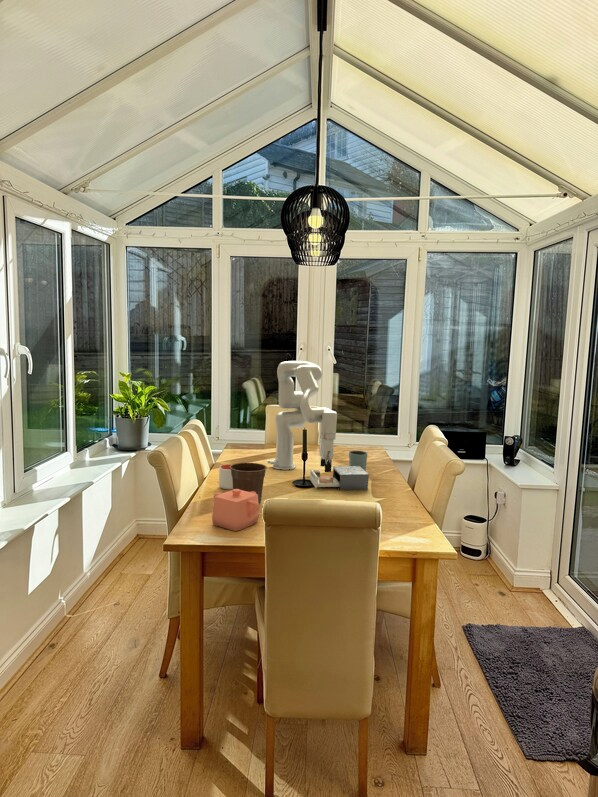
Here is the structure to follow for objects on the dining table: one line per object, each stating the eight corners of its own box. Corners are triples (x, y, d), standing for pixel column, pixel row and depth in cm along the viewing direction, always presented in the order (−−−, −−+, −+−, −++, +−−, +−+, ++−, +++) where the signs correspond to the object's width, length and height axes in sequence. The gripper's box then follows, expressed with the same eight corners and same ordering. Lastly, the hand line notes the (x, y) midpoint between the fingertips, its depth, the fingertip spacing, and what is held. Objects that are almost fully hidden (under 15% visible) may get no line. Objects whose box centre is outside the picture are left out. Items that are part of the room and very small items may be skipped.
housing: (340, 490, 265) (340, 474, 264) (332, 481, 280) (333, 466, 279) (367, 490, 267) (368, 474, 266) (358, 481, 283) (359, 466, 282)
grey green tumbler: (365, 477, 291) (366, 455, 289) (346, 475, 293) (347, 453, 291) (367, 472, 301) (368, 451, 299) (348, 470, 303) (349, 449, 301)
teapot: (246, 536, 203) (247, 500, 201) (201, 523, 214) (202, 489, 212) (276, 521, 219) (277, 487, 218) (233, 510, 231) (234, 478, 229)
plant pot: (241, 494, 253) (242, 460, 251) (272, 500, 246) (273, 465, 244) (221, 503, 238) (222, 467, 236) (253, 510, 231) (254, 473, 229)
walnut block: (312, 479, 281) (312, 472, 281) (310, 477, 285) (311, 470, 285) (319, 479, 282) (320, 472, 282) (318, 477, 286) (318, 470, 286)
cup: (223, 491, 257) (223, 470, 255) (216, 485, 265) (216, 465, 264) (242, 489, 261) (243, 468, 260) (235, 483, 270) (235, 463, 269)
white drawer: (315, 487, 263) (315, 476, 262) (309, 479, 277) (310, 468, 277) (342, 487, 265) (343, 476, 264) (335, 479, 280) (335, 468, 279)
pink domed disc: (320, 484, 267) (320, 480, 267) (317, 480, 274) (317, 476, 274) (334, 483, 268) (334, 480, 268) (331, 480, 275) (331, 476, 275)
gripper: (317, 431, 276) (314, 464, 279) (324, 439, 259) (321, 474, 262) (331, 431, 278) (329, 464, 280) (339, 439, 261) (337, 474, 263)
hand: (325, 469), depth 271 cm, fingers open, 9 cm apart
